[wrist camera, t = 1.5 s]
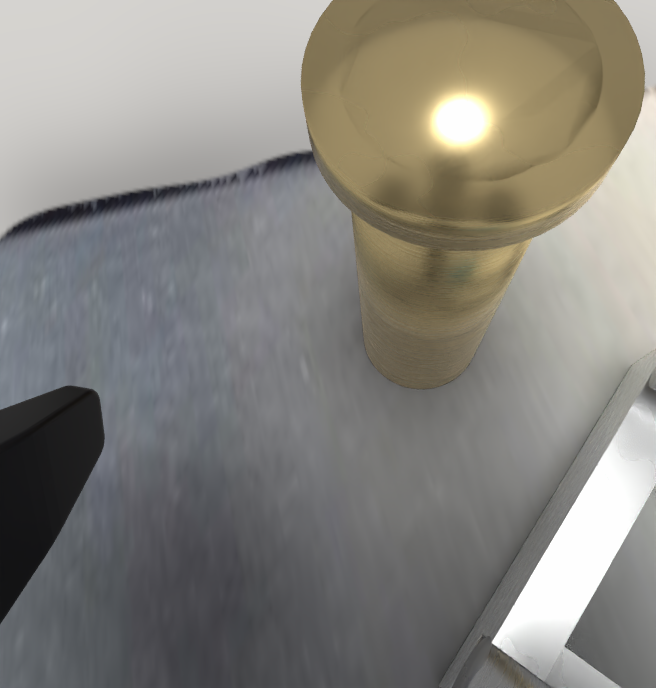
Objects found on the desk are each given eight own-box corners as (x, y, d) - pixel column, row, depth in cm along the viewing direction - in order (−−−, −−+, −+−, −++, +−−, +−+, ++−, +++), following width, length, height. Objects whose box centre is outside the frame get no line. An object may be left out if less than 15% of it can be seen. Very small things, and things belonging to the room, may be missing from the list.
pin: (443, 435, 21) (531, 285, 8) (318, 352, 22) (234, 116, 10) (522, 315, 22) (707, 22, 9) (399, 242, 23) (418, -102, 11)
